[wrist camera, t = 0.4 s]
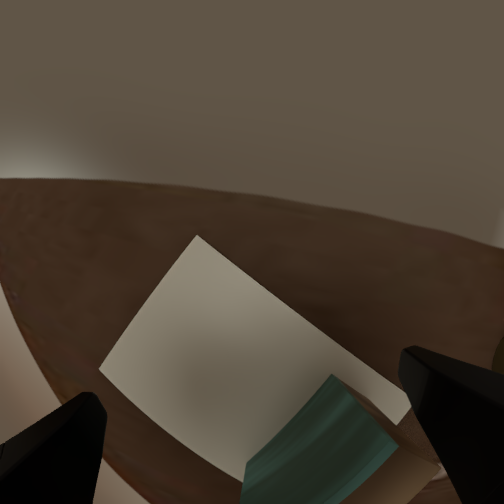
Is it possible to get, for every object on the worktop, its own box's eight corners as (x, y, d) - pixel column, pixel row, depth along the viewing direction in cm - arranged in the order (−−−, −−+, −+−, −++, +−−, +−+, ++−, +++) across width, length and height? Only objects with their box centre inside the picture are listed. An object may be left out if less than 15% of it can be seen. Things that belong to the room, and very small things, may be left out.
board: (410, 397, 18) (416, 400, 18) (303, 505, 17) (304, 511, 16) (200, 237, 22) (196, 234, 21) (104, 366, 20) (98, 368, 19)
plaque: (369, 399, 18) (441, 468, 7) (284, 484, 17) (291, 579, 6) (331, 373, 18) (389, 440, 8) (246, 462, 18) (228, 560, 7)
